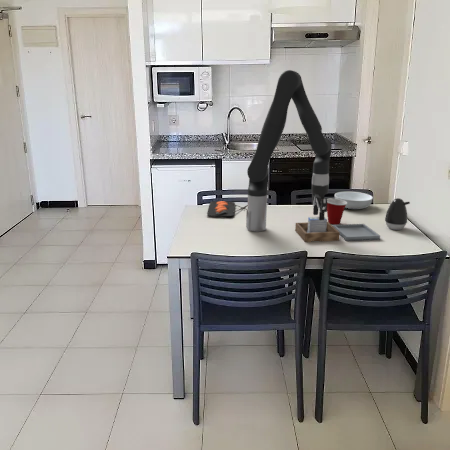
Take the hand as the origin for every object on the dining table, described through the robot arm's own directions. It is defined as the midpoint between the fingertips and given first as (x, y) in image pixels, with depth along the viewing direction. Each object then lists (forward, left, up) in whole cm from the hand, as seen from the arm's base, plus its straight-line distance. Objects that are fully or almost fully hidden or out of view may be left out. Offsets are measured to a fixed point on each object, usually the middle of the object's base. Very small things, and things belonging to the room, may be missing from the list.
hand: (318, 217), depth 214 cm
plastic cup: (+15, +17, -9) cm, 24 cm away
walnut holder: (0, 0, -9) cm, 9 cm away
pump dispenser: (+42, +6, -9) cm, 43 cm away
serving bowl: (+36, +45, -9) cm, 58 cm away
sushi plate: (-32, +46, -10) cm, 56 cm away
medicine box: (0, 0, -9) cm, 9 cm away
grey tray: (+19, 0, -9) cm, 21 cm away
